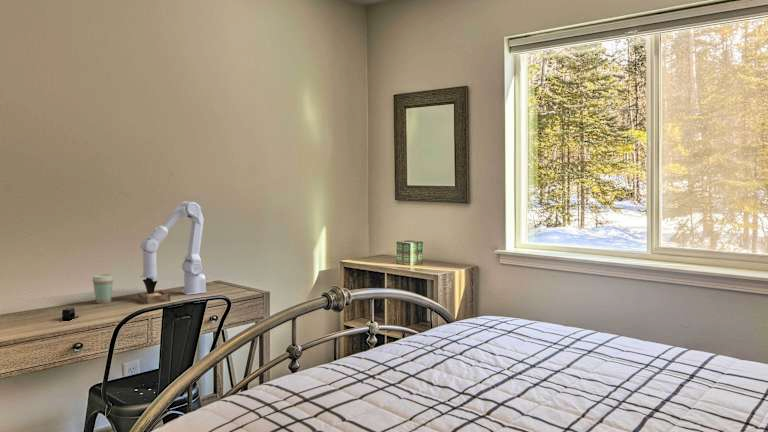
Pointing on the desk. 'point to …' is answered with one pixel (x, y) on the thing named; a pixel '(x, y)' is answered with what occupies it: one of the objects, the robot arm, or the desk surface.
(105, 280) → the coffee cup
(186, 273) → the robot arm
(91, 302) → the desk surface
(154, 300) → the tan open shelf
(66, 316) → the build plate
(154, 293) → the salmon pink block
